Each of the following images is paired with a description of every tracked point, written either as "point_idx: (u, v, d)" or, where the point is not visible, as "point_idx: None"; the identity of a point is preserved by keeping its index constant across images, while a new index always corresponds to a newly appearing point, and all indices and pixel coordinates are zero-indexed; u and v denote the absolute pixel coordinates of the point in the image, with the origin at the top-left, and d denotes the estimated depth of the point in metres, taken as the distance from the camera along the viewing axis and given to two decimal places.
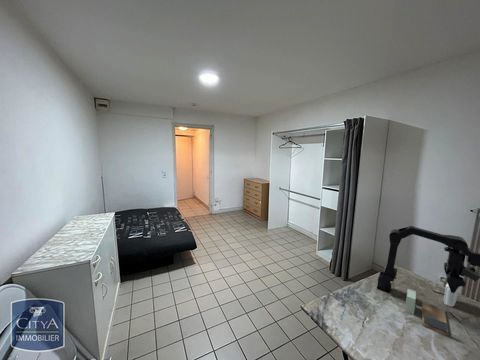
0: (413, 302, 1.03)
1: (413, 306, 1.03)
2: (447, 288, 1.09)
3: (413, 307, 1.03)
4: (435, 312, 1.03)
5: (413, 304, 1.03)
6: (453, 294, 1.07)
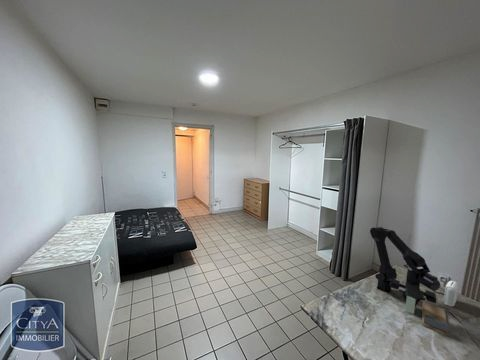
0: (413, 302, 1.03)
1: (413, 306, 1.03)
2: (447, 288, 1.09)
3: (413, 307, 1.03)
4: (435, 312, 1.03)
5: (413, 304, 1.03)
6: (453, 294, 1.07)
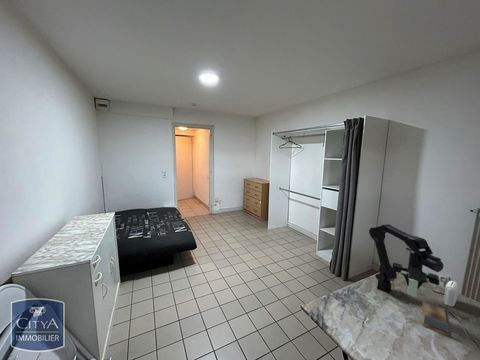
0: (416, 285, 1.02)
1: (415, 289, 1.02)
2: (447, 288, 1.09)
3: (415, 290, 1.02)
4: (435, 312, 1.03)
5: (415, 287, 1.02)
6: (453, 294, 1.07)
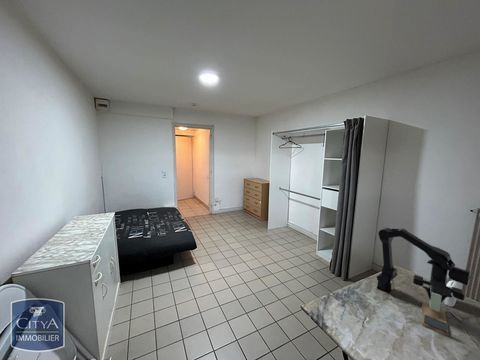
0: (439, 299, 0.99)
1: (439, 303, 0.99)
2: None
3: (439, 304, 0.99)
4: (435, 312, 1.03)
5: (439, 301, 0.99)
6: None
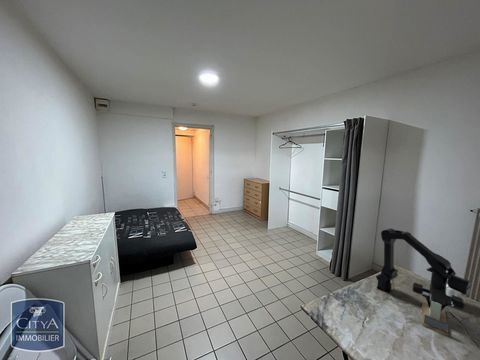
0: (439, 308, 0.97)
1: (439, 312, 0.98)
2: (447, 288, 1.09)
3: (439, 313, 0.98)
4: None
5: (439, 310, 0.98)
6: (453, 294, 1.07)
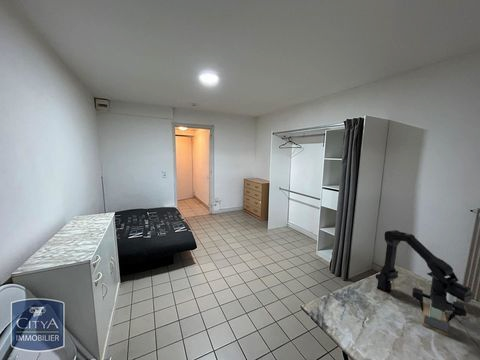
0: (439, 314, 0.93)
1: (439, 319, 0.94)
2: None
3: (439, 320, 0.94)
4: None
5: (439, 317, 0.94)
6: None
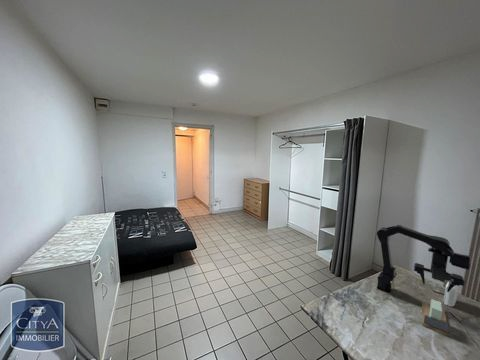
0: (439, 314, 0.93)
1: (439, 319, 0.94)
2: None
3: (439, 320, 0.94)
4: None
5: (439, 317, 0.94)
6: (453, 294, 1.07)
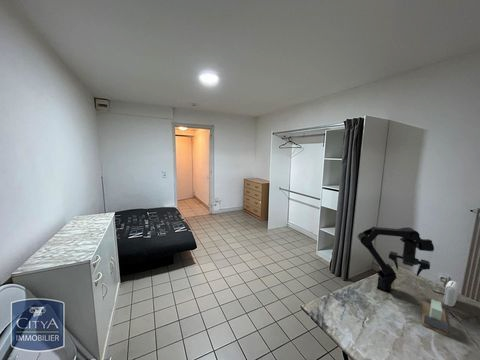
0: (439, 314, 0.93)
1: (439, 319, 0.94)
2: (447, 288, 1.09)
3: (439, 320, 0.94)
4: None
5: (439, 317, 0.94)
6: (453, 294, 1.07)
